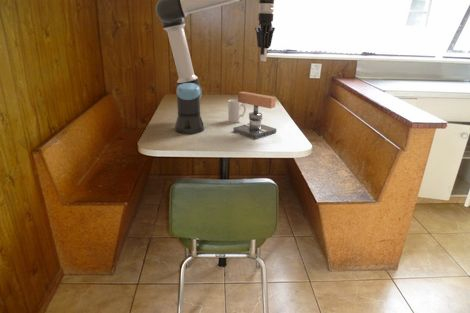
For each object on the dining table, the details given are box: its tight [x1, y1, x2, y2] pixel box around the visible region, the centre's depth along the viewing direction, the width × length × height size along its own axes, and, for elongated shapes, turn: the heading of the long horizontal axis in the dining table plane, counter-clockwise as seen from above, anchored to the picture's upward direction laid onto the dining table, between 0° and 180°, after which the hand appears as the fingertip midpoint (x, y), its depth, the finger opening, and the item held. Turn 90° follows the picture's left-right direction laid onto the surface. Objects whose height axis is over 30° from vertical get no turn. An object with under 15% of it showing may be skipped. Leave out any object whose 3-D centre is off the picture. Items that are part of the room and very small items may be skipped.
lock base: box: [232, 119, 277, 140], centre depth 178 cm, size 16×16×7 cm
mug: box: [227, 98, 247, 124], centre depth 194 cm, size 10×7×12 cm, turn 87°
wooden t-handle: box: [237, 91, 277, 121], centre depth 174 cm, size 7×20×12 cm, turn 53°
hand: (263, 60), depth 181 cm, fingers closed
